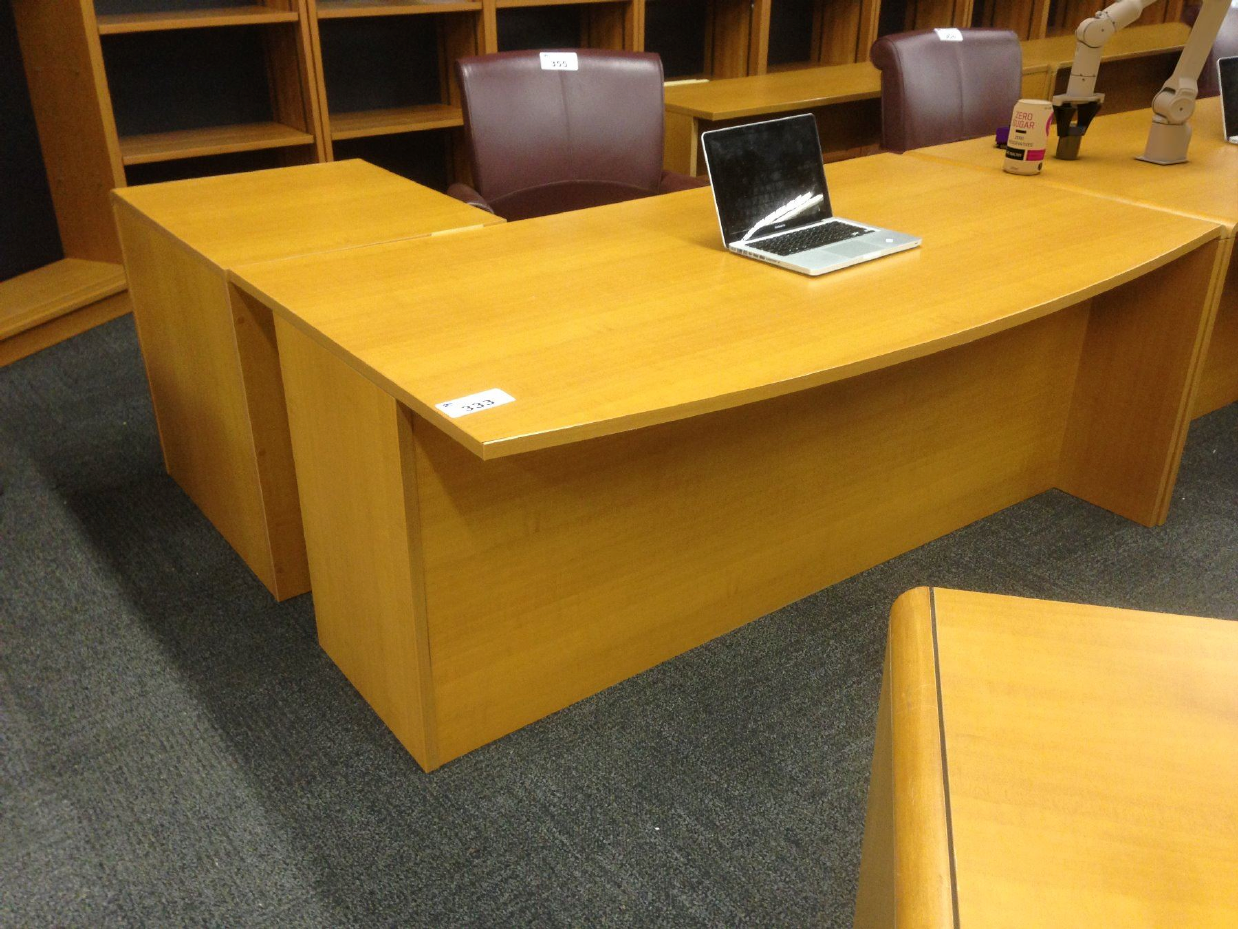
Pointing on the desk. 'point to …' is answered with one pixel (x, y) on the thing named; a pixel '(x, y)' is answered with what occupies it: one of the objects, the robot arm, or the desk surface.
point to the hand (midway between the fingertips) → (1070, 135)
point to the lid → (1076, 129)
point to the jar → (1068, 147)
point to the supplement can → (1028, 136)
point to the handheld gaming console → (1002, 136)
